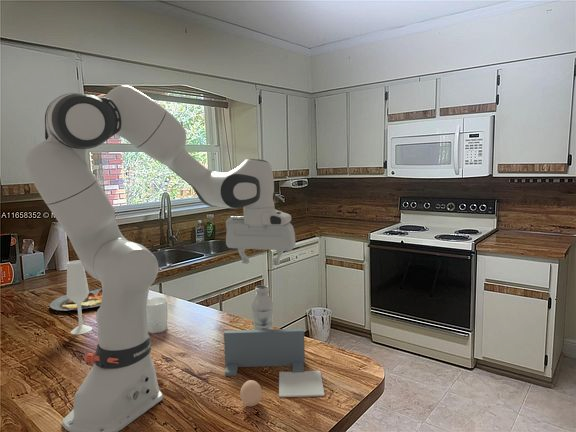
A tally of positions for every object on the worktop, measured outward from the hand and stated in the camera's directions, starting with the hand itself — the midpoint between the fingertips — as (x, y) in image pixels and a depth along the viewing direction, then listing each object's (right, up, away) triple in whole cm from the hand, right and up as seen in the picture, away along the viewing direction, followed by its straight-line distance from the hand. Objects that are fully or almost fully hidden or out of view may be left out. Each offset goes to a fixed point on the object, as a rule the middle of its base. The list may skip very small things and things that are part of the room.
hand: (261, 264), depth 117 cm
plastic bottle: (0, -27, +4) cm, 27 cm away
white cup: (-37, -25, +22) cm, 50 cm away
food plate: (-75, -22, +49) cm, 92 cm away
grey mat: (+11, -29, -14) cm, 34 cm away
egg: (-1, -31, -22) cm, 38 cm away
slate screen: (+1, -28, -6) cm, 29 cm away
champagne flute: (-63, -26, +22) cm, 71 cm away
